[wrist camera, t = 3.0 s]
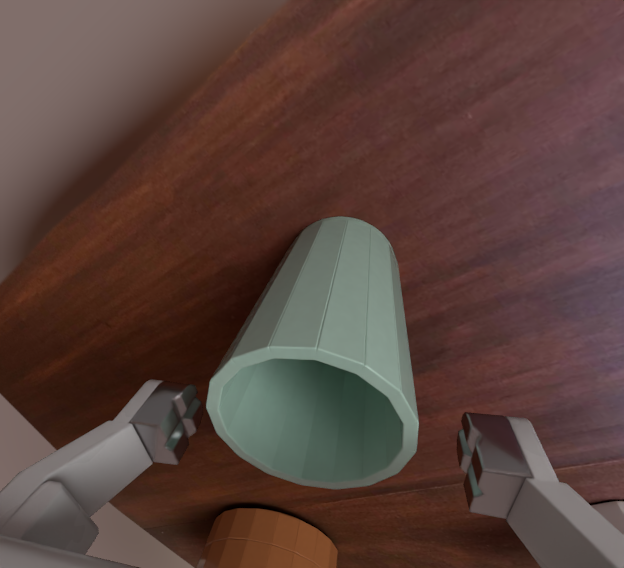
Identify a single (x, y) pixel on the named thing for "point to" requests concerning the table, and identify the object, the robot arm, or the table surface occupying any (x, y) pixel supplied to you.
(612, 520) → the white cup
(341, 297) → the tumbler
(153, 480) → the table surface
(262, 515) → the brown bowl
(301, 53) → the table surface
